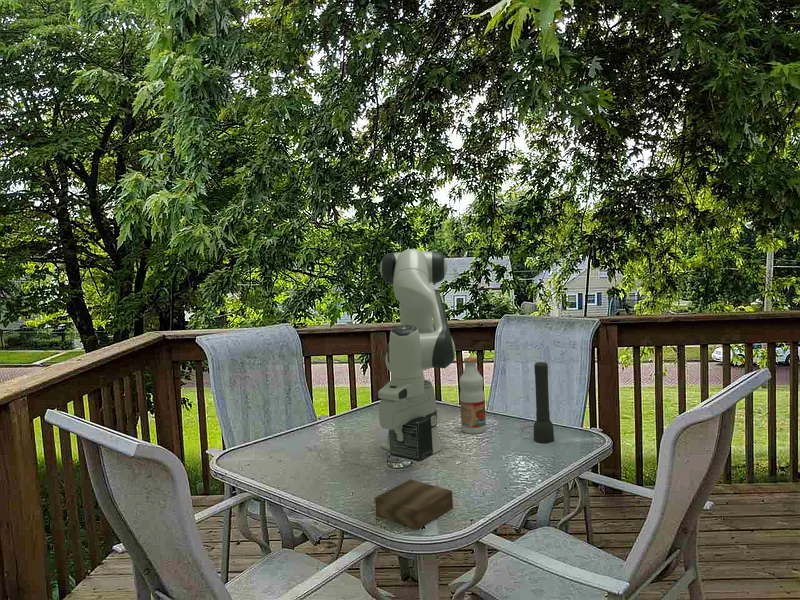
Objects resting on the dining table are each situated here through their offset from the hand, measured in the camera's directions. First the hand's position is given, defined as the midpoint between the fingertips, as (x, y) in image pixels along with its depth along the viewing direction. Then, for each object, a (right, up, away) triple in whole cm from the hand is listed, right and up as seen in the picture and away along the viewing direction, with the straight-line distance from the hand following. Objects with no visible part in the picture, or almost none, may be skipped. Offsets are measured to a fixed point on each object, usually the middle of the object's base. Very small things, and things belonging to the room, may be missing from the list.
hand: (410, 436), depth 167 cm
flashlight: (+49, -13, +54) cm, 74 cm away
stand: (+1, -21, +2) cm, 21 cm away
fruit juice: (+26, -13, +70) cm, 76 cm away
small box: (0, -5, +1) cm, 6 cm away
